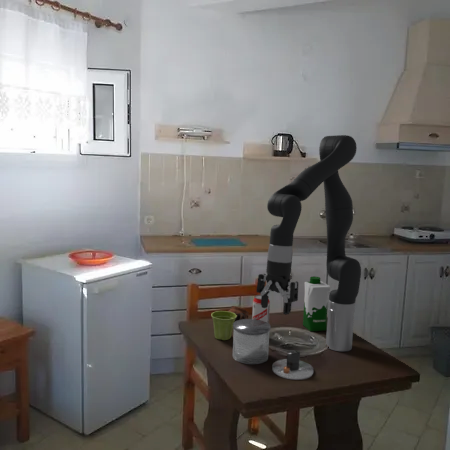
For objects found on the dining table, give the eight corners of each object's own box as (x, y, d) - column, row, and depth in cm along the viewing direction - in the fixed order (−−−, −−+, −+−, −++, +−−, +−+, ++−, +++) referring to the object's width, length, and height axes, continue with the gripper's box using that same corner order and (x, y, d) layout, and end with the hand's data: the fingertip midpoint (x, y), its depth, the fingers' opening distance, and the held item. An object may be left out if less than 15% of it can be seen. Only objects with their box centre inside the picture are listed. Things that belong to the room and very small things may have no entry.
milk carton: (319, 323, 200) (322, 275, 197) (329, 331, 191) (333, 281, 188) (299, 324, 197) (302, 276, 194) (309, 332, 189) (312, 282, 186)
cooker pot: (244, 346, 173) (246, 316, 172) (275, 355, 166) (277, 324, 164) (224, 357, 163) (225, 326, 161) (256, 368, 156) (258, 335, 154)
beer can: (267, 342, 177) (269, 300, 175) (250, 340, 178) (252, 298, 176) (269, 336, 183) (271, 295, 181) (252, 334, 185) (254, 293, 182)
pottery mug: (218, 323, 197) (225, 304, 199) (238, 331, 200) (245, 312, 202) (231, 325, 186) (239, 305, 188) (252, 334, 189) (259, 314, 191)
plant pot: (227, 331, 187) (227, 309, 186) (240, 339, 179) (241, 317, 178) (205, 335, 182) (206, 312, 181) (218, 344, 174) (219, 320, 173)
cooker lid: (284, 359, 164) (285, 341, 164) (319, 369, 157) (321, 351, 156) (264, 372, 154) (265, 353, 153) (301, 384, 147) (303, 365, 146)
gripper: (306, 262, 147) (301, 314, 149) (269, 254, 157) (264, 303, 159) (291, 264, 142) (286, 318, 143) (254, 256, 152) (249, 307, 153)
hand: (275, 310), depth 151 cm, fingers open, 8 cm apart
